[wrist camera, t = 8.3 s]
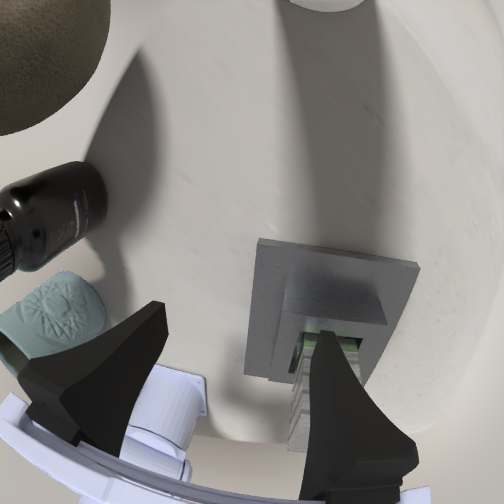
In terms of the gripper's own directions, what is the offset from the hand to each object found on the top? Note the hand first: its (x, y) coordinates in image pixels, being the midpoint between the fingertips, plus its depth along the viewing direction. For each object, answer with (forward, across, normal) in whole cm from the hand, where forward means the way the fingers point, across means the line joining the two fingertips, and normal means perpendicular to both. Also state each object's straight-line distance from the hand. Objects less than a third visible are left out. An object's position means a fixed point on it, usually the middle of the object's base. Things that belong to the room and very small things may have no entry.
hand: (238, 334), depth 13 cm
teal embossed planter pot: (+11, +21, +11) cm, 26 cm away
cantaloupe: (+11, +17, -16) cm, 26 cm away
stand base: (+10, -6, +8) cm, 14 cm away
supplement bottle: (+11, +17, -2) cm, 20 cm away
